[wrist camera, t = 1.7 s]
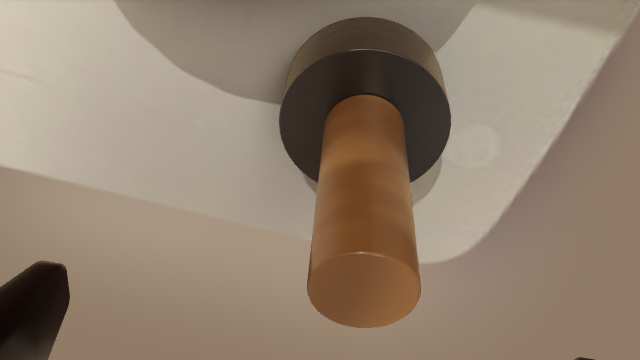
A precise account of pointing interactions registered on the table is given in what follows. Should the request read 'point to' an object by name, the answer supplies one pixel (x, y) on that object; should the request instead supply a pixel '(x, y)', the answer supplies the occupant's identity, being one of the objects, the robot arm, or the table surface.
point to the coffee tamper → (364, 161)
